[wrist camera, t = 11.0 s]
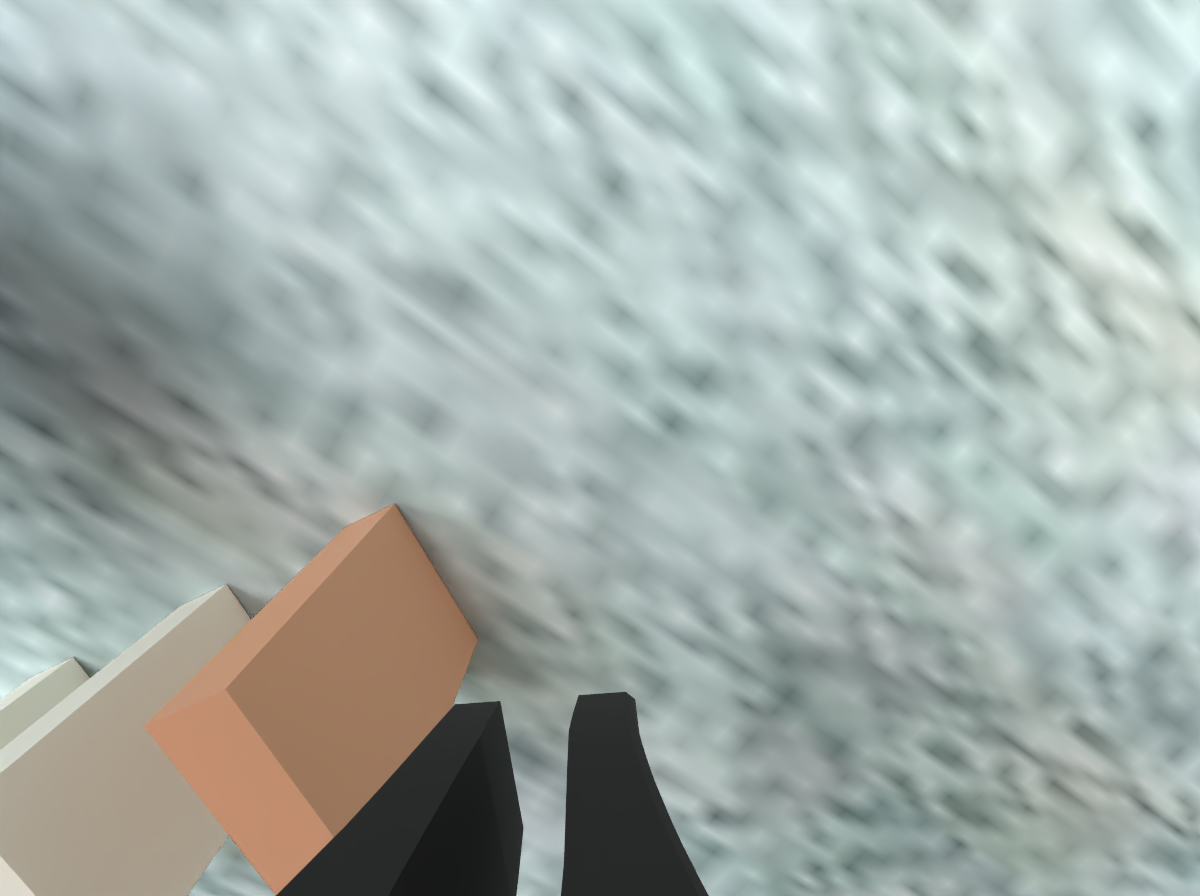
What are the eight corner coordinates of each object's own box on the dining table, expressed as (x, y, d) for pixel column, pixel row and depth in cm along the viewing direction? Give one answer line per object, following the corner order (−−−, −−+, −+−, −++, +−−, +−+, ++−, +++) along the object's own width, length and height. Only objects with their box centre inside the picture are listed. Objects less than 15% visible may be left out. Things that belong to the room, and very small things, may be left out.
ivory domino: (269, 729, 21) (54, 1017, 13) (180, 605, 20) (-112, 839, 12) (314, 710, 20) (121, 992, 13) (226, 583, 19) (-42, 808, 12)
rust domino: (429, 660, 20) (300, 926, 12) (344, 527, 19) (143, 726, 11) (478, 639, 19) (378, 897, 12) (394, 503, 18) (225, 689, 11)
